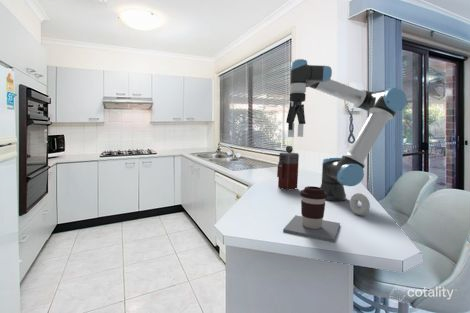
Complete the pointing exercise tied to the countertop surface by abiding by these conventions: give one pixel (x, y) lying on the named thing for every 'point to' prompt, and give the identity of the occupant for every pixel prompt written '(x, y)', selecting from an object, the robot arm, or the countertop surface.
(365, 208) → the donut
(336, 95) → the robot arm
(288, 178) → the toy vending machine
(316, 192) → the coffee cup
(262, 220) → the countertop surface
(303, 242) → the countertop surface
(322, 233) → the mat
